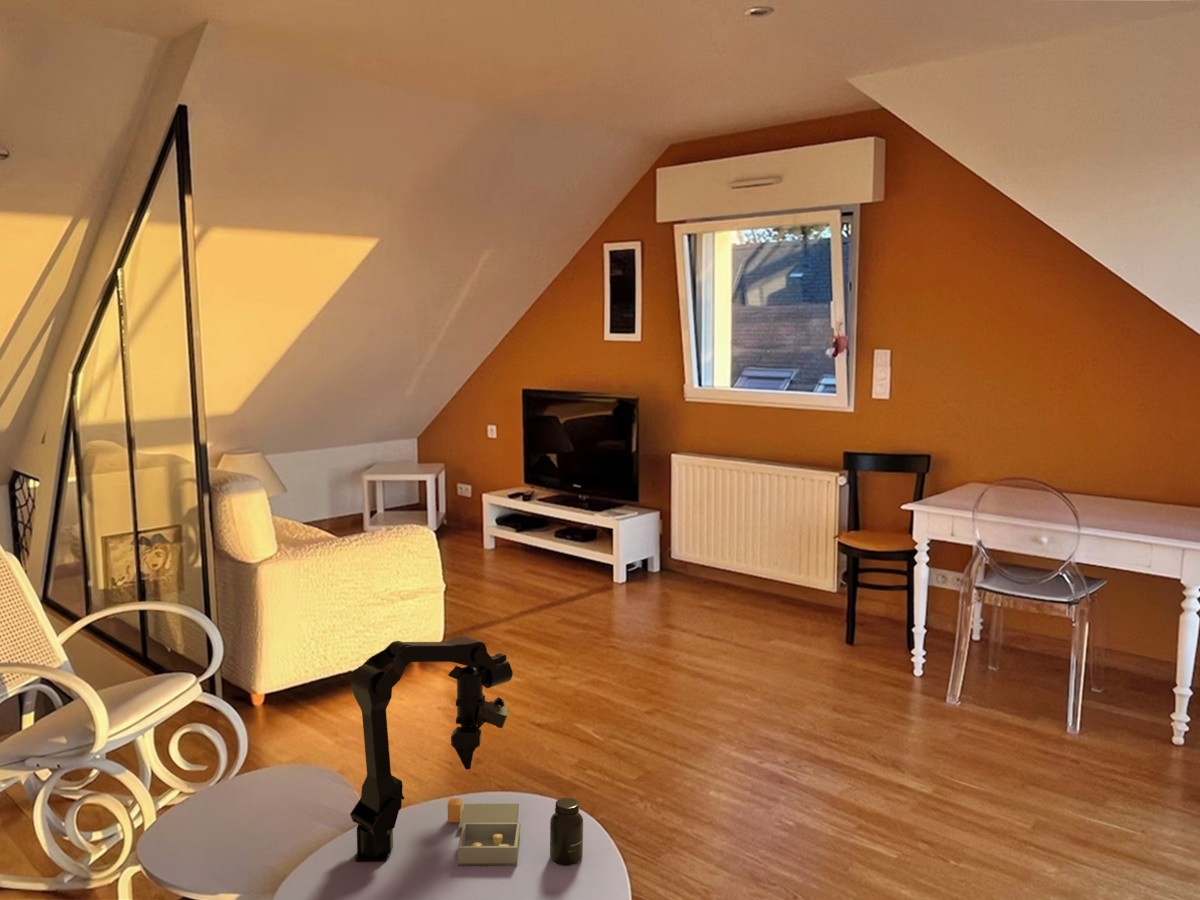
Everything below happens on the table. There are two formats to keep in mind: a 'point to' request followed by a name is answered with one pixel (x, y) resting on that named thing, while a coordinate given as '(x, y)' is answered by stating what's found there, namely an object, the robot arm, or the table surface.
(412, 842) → the table surface
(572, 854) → the supplement bottle
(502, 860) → the tub
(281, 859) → the table surface
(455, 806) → the lid
